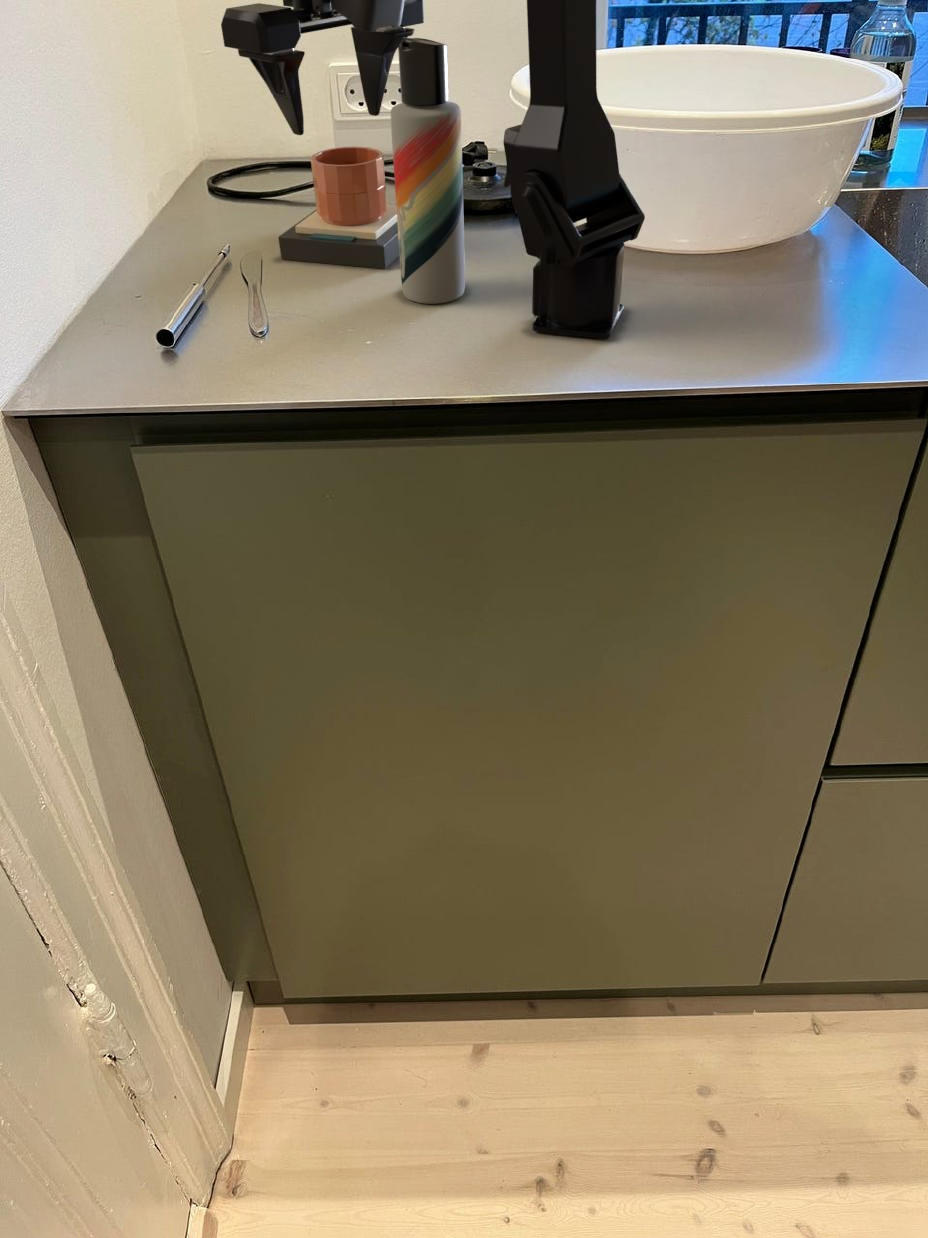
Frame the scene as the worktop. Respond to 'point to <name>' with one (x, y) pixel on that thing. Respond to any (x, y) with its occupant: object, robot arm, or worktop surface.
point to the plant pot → (349, 185)
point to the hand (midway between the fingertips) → (337, 124)
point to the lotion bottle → (428, 176)
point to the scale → (343, 241)
